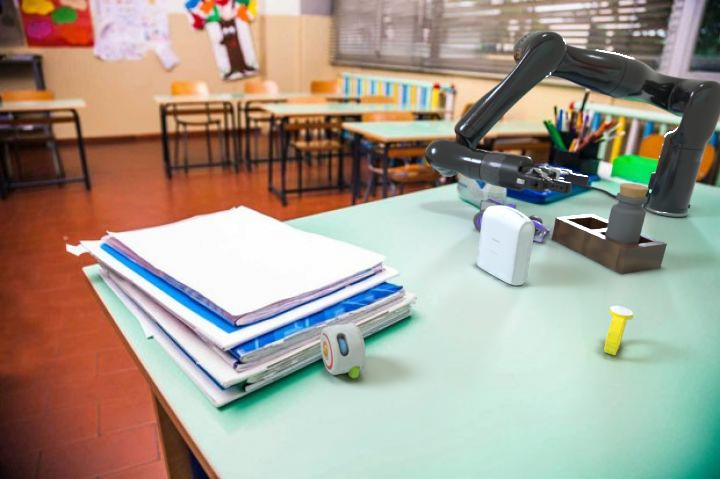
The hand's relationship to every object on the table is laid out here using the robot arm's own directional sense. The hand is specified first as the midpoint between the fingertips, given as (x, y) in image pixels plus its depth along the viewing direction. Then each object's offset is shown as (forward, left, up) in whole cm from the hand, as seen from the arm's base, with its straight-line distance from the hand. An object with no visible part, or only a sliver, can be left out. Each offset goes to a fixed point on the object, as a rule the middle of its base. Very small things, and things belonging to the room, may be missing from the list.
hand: (579, 185), depth 98 cm
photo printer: (+8, -23, -13) cm, 27 cm away
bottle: (+9, +4, -13) cm, 17 cm away
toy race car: (-11, -6, -13) cm, 18 cm away
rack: (+5, +4, -13) cm, 15 cm away
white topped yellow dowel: (+33, -23, -13) cm, 42 cm away
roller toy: (+26, -59, -13) cm, 66 cm away
